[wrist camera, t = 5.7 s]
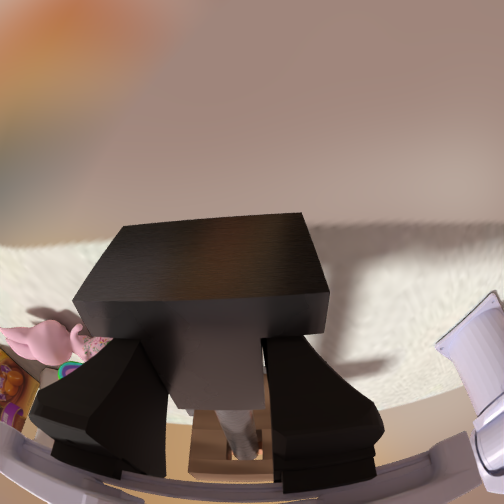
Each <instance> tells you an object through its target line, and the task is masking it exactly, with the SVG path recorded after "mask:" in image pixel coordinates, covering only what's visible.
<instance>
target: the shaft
mask: <svg viewBox="0 0 504 504" xmlns="http://www.w3.org/2000/svg"><path fill="white" fill-rule="evenodd" d="M329 295H330V291H329V288H328V285H327V282H326V279H325V276H324V273H323V270H322V267H321V264H320V261H319V259H318V256H317V253H316V250H315V247H314V245H313V242H312V239H311V236H310V234H309V231H308V228H307V226H306V223H305V220H304V218H303V215H302V213H283V214H264V215H248V216H234V217H219V218H207V219H194V220H182V221H171V222H160V223H150V224H139V225H130V226H123V227H122V228H121V230H120V231H119V232H118V234H117V235H116V236H115V238H114V239H113V241H112V242H111V243H110V245H109V246H108V247H107V249H106V250H105V252H104V253H103V254H102V256H101V257H100V259H99V260H98V262H97V263H96V265H95V266H94V267H93V269H92V270H91V272H90V273H89V275H88V276H87V278H86V279H85V281H84V283H83V284H82V286H81V287H80V289H79V290H78V292H77V294H76V295H75V297H74V298H73V300H72V302H73V303H74V305H75V307H76V309H77V311H78V313H79V315H80V316H81V318H82V320H83V322H84V324H85V325H86V327H87V329H88V330H89V332H90V334H91V335H92V336H93V337H107V338H124V339H140V341H141V343H142V345H143V347H144V349H145V351H146V353H147V355H148V357H149V358H150V360H151V362H152V364H153V366H154V368H155V370H156V371H157V373H158V375H159V377H160V379H161V380H162V382H163V384H164V386H165V387H166V389H167V391H168V393H169V394H170V396H171V398H172V399H173V401H174V403H175V404H176V406H177V407H178V409H191V410H215V413H216V415H217V418H218V420H219V422H220V425H221V427H222V429H223V432H224V434H225V436H226V438H227V441H228V443H229V445H230V447H231V449H232V452H233V454H234V456H235V457H236V458H237V459H238V460H254V459H255V458H256V457H257V456H258V454H259V446H258V440H257V434H256V428H255V422H254V416H253V410H261V409H265V389H264V366H263V347H262V338H271V337H286V336H298V335H310V334H320V333H324V329H325V323H326V316H327V309H328V302H329Z"/></svg>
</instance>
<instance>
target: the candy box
mask: <svg viewBox="0 0 504 504" xmlns="http://www.w3.org/2000/svg"><path fill="white" fill-rule="evenodd" d="M39 386H40V383H39V382H38V381H36V380H35V379H34V378H33V377H32V376H30V375H29V374H28V373H27V372H25V371H24V370H23V369H22V368H21V367H20V366H19V365H17V364H16V363H15V362H14V361H13V360H12V359H11V358H10V357H9V356H8V355H7V354H5V353H4V352H3V351H2V350H1V349H0V421H2V422H4V423H5V424H7V425H9V426H11V427H13V428H15V429H16V430H18V431H19V432H20V433H21V431H22V429H23V426H24V423H25V420H26V418H27V415H28V412H29V410H30V407H31V405H32V402H33V400H34V397H35V395H36V393H37V390H38V388H39Z"/></svg>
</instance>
